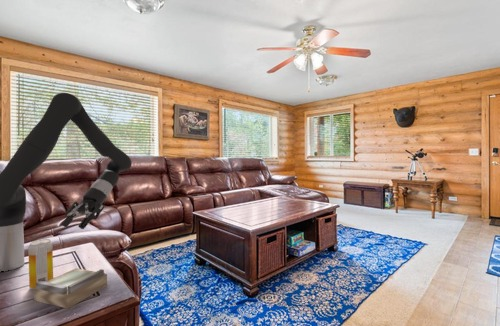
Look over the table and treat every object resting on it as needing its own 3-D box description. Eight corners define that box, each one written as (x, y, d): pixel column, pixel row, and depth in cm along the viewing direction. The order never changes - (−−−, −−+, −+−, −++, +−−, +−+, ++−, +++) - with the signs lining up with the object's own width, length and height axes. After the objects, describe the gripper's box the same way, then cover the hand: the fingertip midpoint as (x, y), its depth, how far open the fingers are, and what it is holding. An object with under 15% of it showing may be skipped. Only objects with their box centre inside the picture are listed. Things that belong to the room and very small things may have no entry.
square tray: (33, 300, 73) (32, 281, 73) (76, 279, 86) (75, 263, 85) (67, 309, 69) (66, 289, 69) (107, 285, 82) (106, 268, 81)
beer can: (50, 279, 86) (49, 237, 85) (55, 285, 82) (54, 241, 81) (27, 286, 81) (26, 242, 81) (31, 293, 77) (30, 246, 77)
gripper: (79, 186, 101) (50, 220, 91) (106, 187, 97) (79, 223, 86) (91, 197, 107) (65, 230, 96) (117, 198, 102) (93, 233, 92)
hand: (72, 227), depth 91 cm, fingers open, 8 cm apart
